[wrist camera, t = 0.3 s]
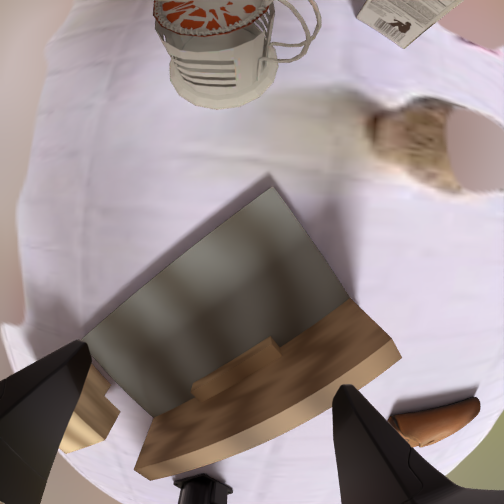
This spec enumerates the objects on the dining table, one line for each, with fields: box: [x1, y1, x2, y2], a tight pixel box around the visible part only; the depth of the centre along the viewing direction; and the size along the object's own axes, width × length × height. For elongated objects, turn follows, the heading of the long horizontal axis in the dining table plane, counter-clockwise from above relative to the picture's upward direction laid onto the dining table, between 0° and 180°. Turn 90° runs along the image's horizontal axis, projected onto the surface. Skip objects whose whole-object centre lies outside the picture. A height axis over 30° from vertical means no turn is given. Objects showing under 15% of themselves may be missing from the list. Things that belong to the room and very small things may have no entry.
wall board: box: [81, 186, 402, 481], centre depth 20 cm, size 24×14×9 cm, turn 127°
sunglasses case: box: [388, 397, 481, 447], centre depth 27 cm, size 18×7×7 cm
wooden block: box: [59, 363, 120, 454], centre depth 20 cm, size 10×7×11 cm
